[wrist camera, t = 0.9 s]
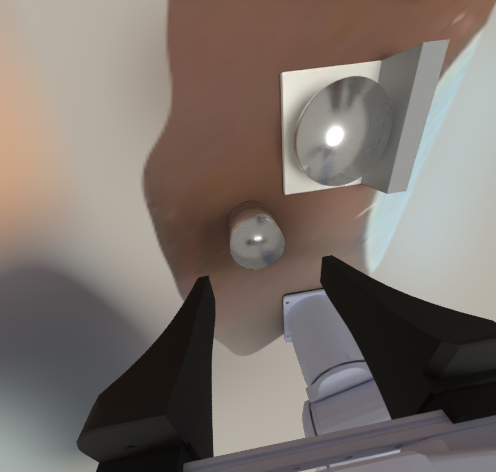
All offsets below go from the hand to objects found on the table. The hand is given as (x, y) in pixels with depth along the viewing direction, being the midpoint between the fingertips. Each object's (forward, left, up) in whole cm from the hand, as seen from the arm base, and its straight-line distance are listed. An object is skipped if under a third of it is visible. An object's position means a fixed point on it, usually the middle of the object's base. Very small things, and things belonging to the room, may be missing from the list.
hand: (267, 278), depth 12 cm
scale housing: (+7, -8, -9) cm, 14 cm away
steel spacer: (0, 0, -9) cm, 9 cm away
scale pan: (+7, -7, -6) cm, 11 cm away
